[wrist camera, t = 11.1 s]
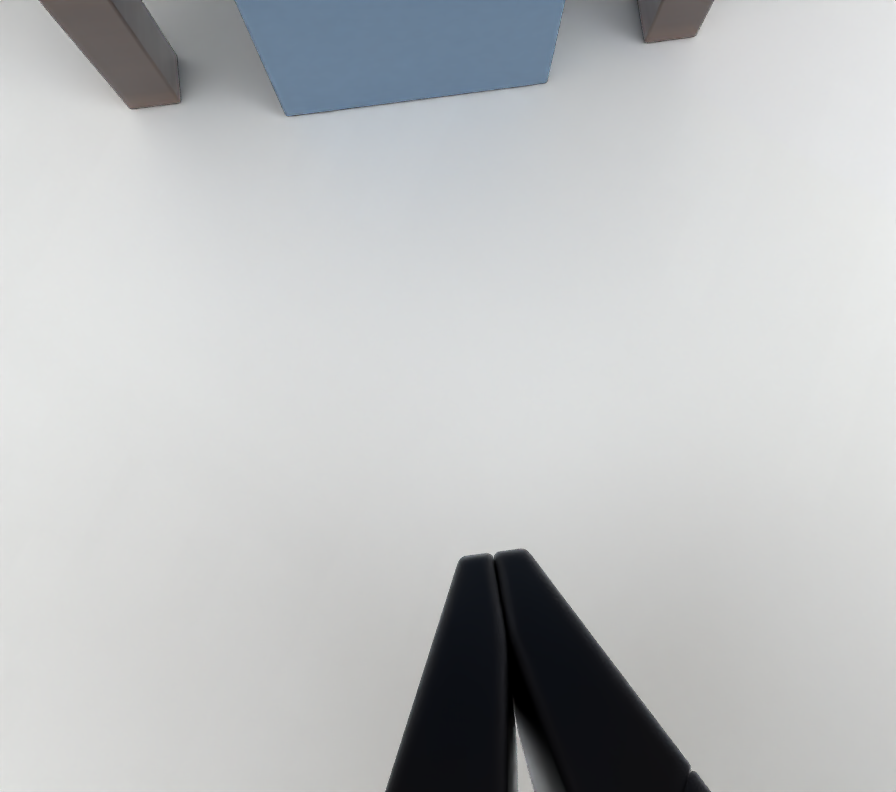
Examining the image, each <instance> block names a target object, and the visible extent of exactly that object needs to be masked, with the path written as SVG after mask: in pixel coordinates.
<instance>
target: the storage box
mask: <svg viewBox="0 0 896 792" xmlns="http://www.w3.org/2000/svg"><path fill="white" fill-rule="evenodd" d="M235 2H236V5H237V7H238V9H239V11H240V14H241V16H242V18H243V20H244V23H245V25H246V27H247V29H248V32H249V34H250V36H251V38H252V41H253V43H254V45H255V47H256V50H257V52H258V54H259V56H260V59H261V61H262V63H263V65H264V68H265V70H266V72H267V74H268V77H269V79H270V81H271V83H272V86H273V88H274V90H275V92H276V95H277V97H278V99H279V101H280V104H281V106H282V108H283V111H284V113H285V115H286V116H293V115H301V114H309V113H316V112H324V111H332V110H340V109H347V108H355V107H363V106H371V105H378V104H386V103H394V102H402V101H409V100H417V99H425V98H433V97H441V96H448V95H456V94H464V93H472V92H479V91H487V90H495V89H503V88H510V87H518V86H526V85H534V84H541V83H546V82H547V81H548V76H549V72H550V67H551V63H552V58H553V54H554V49H555V45H556V40H557V36H558V31H559V27H560V22H561V17H562V13H563V8H564V4H565V0H235Z"/></svg>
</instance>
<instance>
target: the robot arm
mask: <svg viewBox="0 0 896 792" xmlns="http://www.w3.org/2000/svg"><path fill="white" fill-rule="evenodd" d="M514 712H515V715H514ZM515 718H516V723H517V729H518V733H519V737H520V741H521V745H522V749H523V752H524V756H525V760H526V763H527V767H528V771H529V774H530V778H531V781H532V785H533V789H534V792H711V791H710V790H709V788H708V787H707V786H706V785H705V783H704V782H703V781H702V779H701V778H700V777H699V775H698V774H697V773H696V772H694V771H692V772H690V771H691V765H690V764H689V763H688V761H687V760H686V759H685V757H684V756H683V755H682V753H681V752H680V751H679V749H678V748H677V747H676V745H675V744H674V743H673V742H672V740H671V739H670V738H669V736H668V735H667V734H666V732H665V731H664V730H663V728H662V727H661V726H660V724H659V723H658V722H657V720H656V719H655V718H654V716H653V715H652V714H651V712H650V711H649V710H648V709H647V707H646V706H645V705H644V703H643V702H642V701H641V699H640V698H639V697H638V695H637V694H636V693H635V691H634V690H633V689H632V687H631V686H630V685H629V683H628V682H627V681H626V679H625V678H624V677H623V676H622V674H621V673H620V672H619V670H618V669H617V668H616V666H615V665H614V664H613V662H612V661H611V660H610V658H609V657H608V656H607V654H606V653H605V652H604V650H603V649H602V648H601V646H600V645H599V644H598V643H597V641H596V640H595V639H594V637H593V636H592V635H591V633H590V632H589V631H588V629H587V628H586V627H585V625H584V624H583V623H582V621H581V620H580V619H579V617H578V616H577V615H576V613H575V612H574V611H573V610H572V608H571V607H570V606H569V604H568V603H567V602H566V600H565V599H564V598H563V596H562V595H561V594H560V592H559V591H558V590H557V588H556V587H555V586H554V584H553V583H552V582H551V580H550V579H549V578H548V577H547V575H546V574H545V573H544V571H543V570H542V569H541V567H540V566H539V565H538V563H537V562H536V561H535V559H534V558H533V557H532V555H531V554H530V553H529V552H528V551H527V550H525V549H515V550H507V551H500V552H497V553H496V554H495V555H494V559H493V556H492V555H491V554H488V553H485V554H477V555H469V556H464V557H462V558H461V559H460V560H459V562H458V564H457V567H456V570H455V573H454V577H453V580H452V583H451V586H450V589H449V592H448V595H447V599H446V602H445V605H444V608H443V611H442V614H441V618H440V621H439V624H438V627H437V630H436V633H435V636H434V640H433V643H432V646H431V649H430V652H429V655H428V659H427V662H426V665H425V668H424V671H423V674H422V677H421V681H420V684H419V687H418V690H417V693H416V696H415V699H414V703H413V706H412V709H411V712H410V715H409V718H408V722H407V725H406V728H405V731H404V734H403V737H402V740H401V744H400V747H399V750H398V753H397V756H396V759H395V763H394V766H393V769H392V772H391V775H390V778H389V781H388V785H387V788H386V791H385V792H518V774H517V743H516V726H515Z"/></svg>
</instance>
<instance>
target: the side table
mask: <svg viewBox="0 0 896 792" xmlns="http://www.w3.org/2000/svg"><path fill="white" fill-rule="evenodd" d="M39 1H40V3H41V4H42V5H43V6H44V7H45V9H46V10H47V11H48V12H49V13H50V15H51V16H52V17H53V18H54V19H55V21H56V22H57V23H58V24H59V25H60V26H61V28H62V29H63V30H64V31H65V32H66V34H67V35H68V36H69V37H70V38H71V40H72V41H73V42H74V43H75V44H76V45H77V47H78V48H79V49H80V50H81V51H82V53H83V54H84V55H85V56H86V57H87V59H88V60H89V61H90V62H91V63H92V64H93V66H94V67H95V68H96V69H97V70H98V72H99V73H100V74H101V75H102V76H103V78H104V79H105V80H106V81H107V82H108V83H109V85H110V86H111V87H112V88H113V89H114V91H115V92H116V93H117V94H118V95H119V97H120V98H121V99H122V100H123V101H124V103H125V104H126V105H127V106H128V107H129V108H130V109H135V108H143V107H151V106H159V105H166V104H174V103H180V102H181V96H180V85H179V75H178V64H177V55H176V54H175V52H174V50H173V49H172V47H171V46H170V44H169V43H168V41H167V39H166V38H165V36H164V35H163V33H162V32H161V30H160V28H159V27H158V25H157V24H156V22H155V20H154V19H153V17H152V16H151V14H150V13H149V11H148V9H147V8H146V6H145V5H144V3H143V2H142V0H39ZM637 1H638V7H639V13H640V18H641V24H642V30H643V36H644V41H645V42H646V43H649V42H657V41H664V40H672V39H680V38H688V37H694V36H696V34H697V32H698V30H699V29H700V27H701V25H702V23H703V21H704V19H705V17H706V15H707V13H708V11H709V9H710V7H711V5H712V4H713V2H714V0H637Z"/></svg>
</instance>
